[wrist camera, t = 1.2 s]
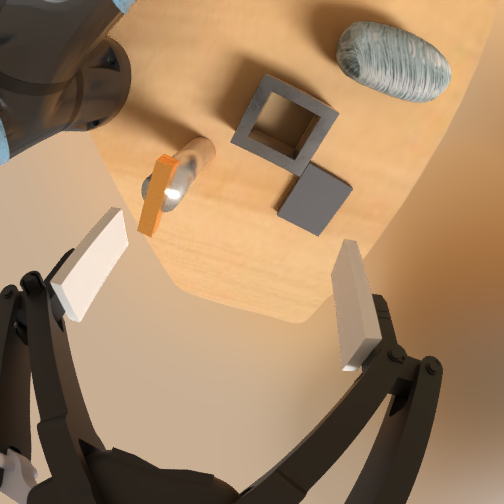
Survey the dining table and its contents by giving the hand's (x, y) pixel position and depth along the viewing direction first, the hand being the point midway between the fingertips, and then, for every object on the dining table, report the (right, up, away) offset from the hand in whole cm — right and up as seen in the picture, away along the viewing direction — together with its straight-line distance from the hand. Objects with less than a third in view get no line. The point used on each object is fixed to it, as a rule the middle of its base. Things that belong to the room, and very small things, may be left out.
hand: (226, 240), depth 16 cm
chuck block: (+6, +16, +16) cm, 24 cm away
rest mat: (+10, +7, +23) cm, 26 cm away
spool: (+18, +23, +10) cm, 31 cm away
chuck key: (-5, +13, +20) cm, 25 cm away
